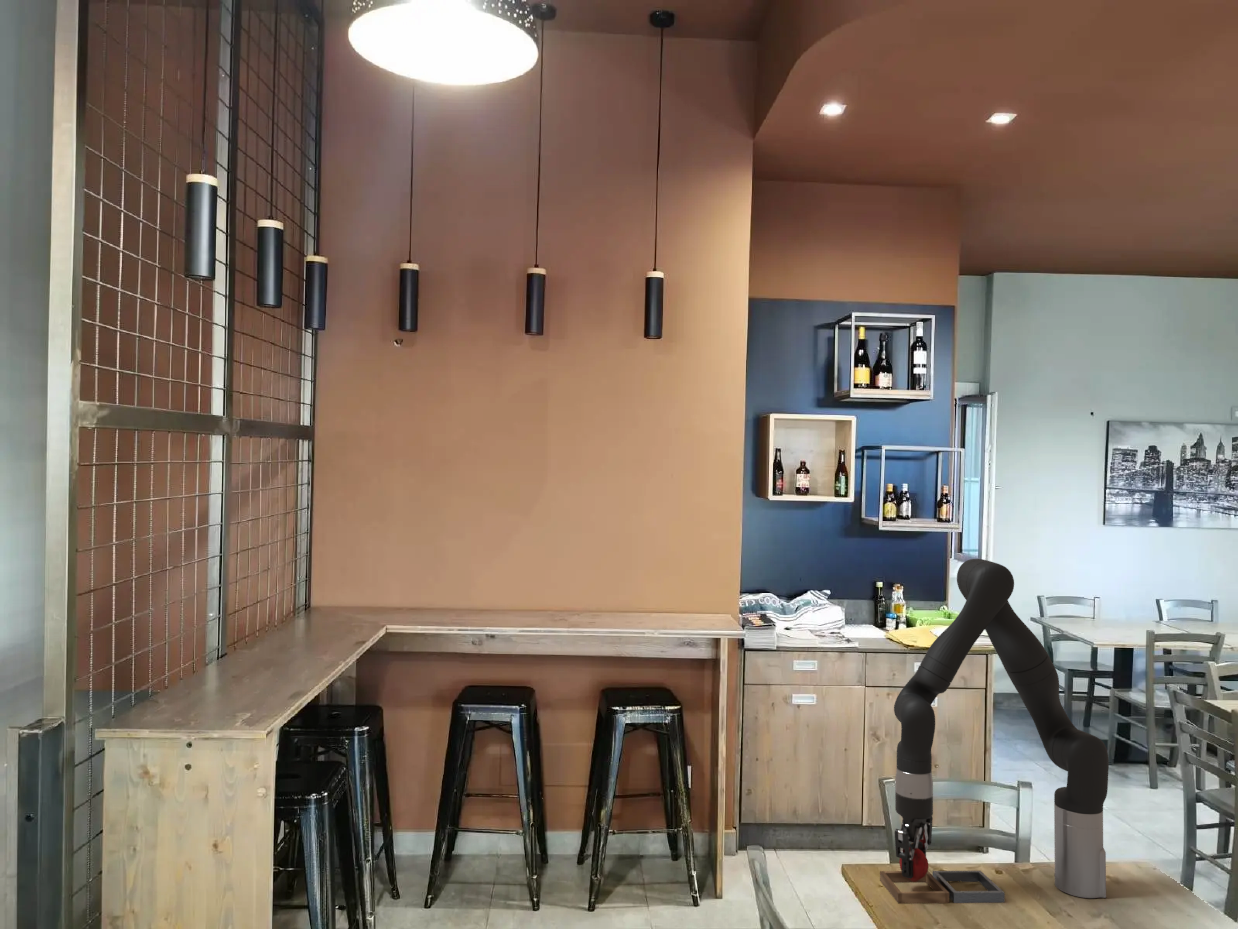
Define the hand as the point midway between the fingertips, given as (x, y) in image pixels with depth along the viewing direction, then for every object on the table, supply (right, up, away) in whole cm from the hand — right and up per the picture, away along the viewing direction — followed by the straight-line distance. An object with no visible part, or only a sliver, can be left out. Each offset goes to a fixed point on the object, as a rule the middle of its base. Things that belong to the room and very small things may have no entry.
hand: (914, 872), depth 183 cm
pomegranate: (0, -2, 0) cm, 2 cm away
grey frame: (+11, -4, +1) cm, 12 cm away
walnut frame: (0, -4, 0) cm, 4 cm away
